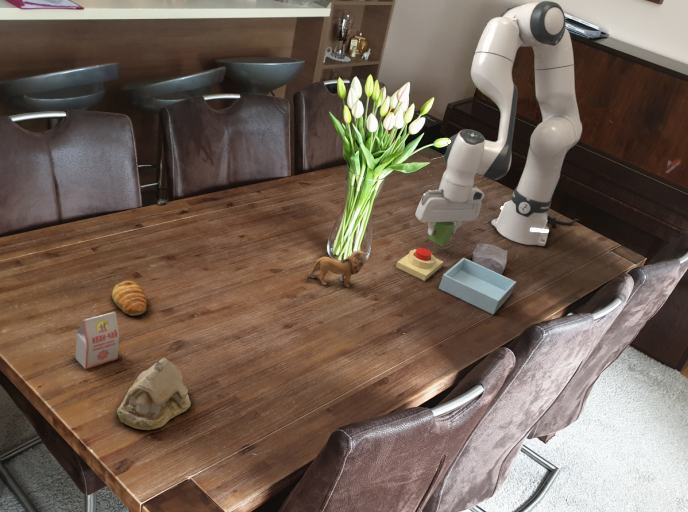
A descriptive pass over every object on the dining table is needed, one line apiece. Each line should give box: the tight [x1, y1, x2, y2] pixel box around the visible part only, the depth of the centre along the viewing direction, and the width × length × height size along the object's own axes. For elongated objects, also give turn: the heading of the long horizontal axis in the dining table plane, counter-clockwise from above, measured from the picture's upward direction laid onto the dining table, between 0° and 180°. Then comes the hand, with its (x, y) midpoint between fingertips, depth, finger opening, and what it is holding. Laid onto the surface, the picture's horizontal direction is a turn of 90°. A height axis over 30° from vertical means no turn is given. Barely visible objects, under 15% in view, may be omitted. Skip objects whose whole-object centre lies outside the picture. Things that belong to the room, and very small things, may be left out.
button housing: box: [395, 248, 444, 282], centre depth 208 cm, size 12×9×4 cm
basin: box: [438, 257, 517, 315], centre depth 204 cm, size 15×16×4 cm
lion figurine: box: [305, 250, 367, 288], centre depth 189 cm, size 15×5×9 cm, turn 110°
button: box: [415, 247, 433, 261], centre depth 207 cm, size 4×4×2 cm
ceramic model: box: [116, 357, 192, 431], centre depth 136 cm, size 14×11×10 cm
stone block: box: [471, 243, 508, 275], centre depth 221 cm, size 12×5×10 cm
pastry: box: [111, 280, 148, 317], centre depth 162 cm, size 9×7×4 cm
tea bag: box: [75, 311, 120, 370], centre depth 143 cm, size 4×7×10 cm, turn 135°
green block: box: [428, 222, 455, 247], centre depth 217 cm, size 4×4×6 cm
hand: (440, 234), depth 217 cm, fingers closed on green block, 6 cm apart
